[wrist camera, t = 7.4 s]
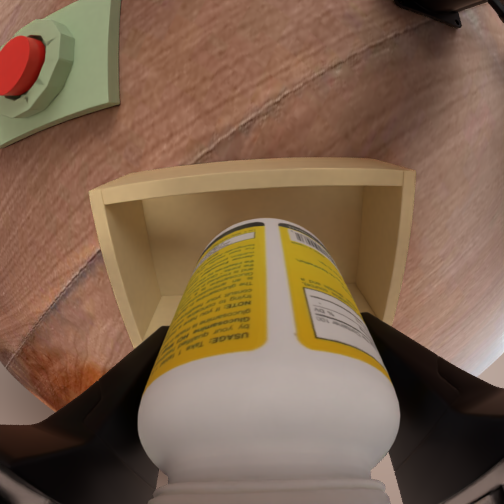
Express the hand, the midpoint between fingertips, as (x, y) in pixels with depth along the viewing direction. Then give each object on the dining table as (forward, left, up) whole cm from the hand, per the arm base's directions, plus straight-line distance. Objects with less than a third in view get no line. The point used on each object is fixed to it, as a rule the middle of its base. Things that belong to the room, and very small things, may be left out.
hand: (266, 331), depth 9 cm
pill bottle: (0, 0, -4) cm, 4 cm away
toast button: (+14, -14, -7) cm, 21 cm away
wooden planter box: (0, 0, -10) cm, 10 cm away
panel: (+14, -14, -10) cm, 22 cm away
